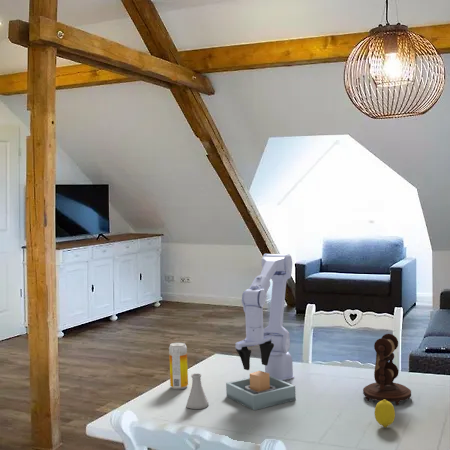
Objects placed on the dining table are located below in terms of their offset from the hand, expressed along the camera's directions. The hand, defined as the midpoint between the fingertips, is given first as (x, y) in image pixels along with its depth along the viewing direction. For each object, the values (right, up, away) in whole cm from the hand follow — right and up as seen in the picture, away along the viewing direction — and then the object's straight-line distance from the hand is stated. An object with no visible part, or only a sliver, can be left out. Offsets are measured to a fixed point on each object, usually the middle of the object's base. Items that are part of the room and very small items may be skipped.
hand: (255, 367), depth 213 cm
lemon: (+35, -11, -30) cm, 47 cm away
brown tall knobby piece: (+41, -9, -6) cm, 43 cm away
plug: (+1, -8, -2) cm, 9 cm away
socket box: (+1, -10, -2) cm, 10 cm away
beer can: (-26, -10, +11) cm, 30 cm away
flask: (-19, -11, -8) cm, 23 cm away
